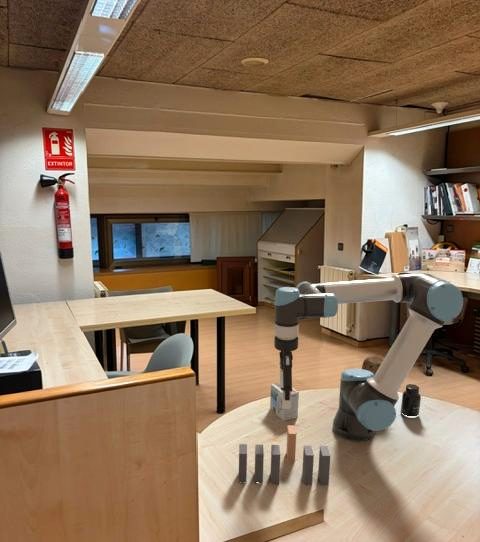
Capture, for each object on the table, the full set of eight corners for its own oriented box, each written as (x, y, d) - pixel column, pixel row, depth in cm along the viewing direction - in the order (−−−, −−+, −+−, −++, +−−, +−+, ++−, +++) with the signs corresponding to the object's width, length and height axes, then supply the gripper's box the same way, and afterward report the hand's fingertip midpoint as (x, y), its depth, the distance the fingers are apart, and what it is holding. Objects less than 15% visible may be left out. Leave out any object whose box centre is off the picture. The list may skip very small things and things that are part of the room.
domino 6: (325, 474, 143) (327, 446, 141) (328, 485, 138) (330, 455, 136) (318, 474, 143) (319, 445, 141) (320, 485, 138) (322, 455, 136)
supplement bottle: (416, 420, 176) (419, 392, 173) (398, 415, 179) (401, 387, 177) (420, 413, 182) (423, 385, 179) (402, 408, 185) (405, 381, 183)
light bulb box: (269, 408, 183) (270, 383, 181) (283, 405, 186) (284, 380, 184) (283, 421, 174) (284, 395, 172) (298, 417, 177) (299, 392, 175)
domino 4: (293, 452, 154) (294, 425, 152) (295, 461, 150) (296, 433, 148) (286, 452, 154) (287, 425, 152) (287, 461, 150) (288, 433, 148)
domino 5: (309, 474, 143) (311, 445, 141) (312, 484, 138) (313, 455, 136) (302, 474, 143) (303, 445, 141) (304, 484, 138) (305, 455, 136)
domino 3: (278, 473, 143) (279, 445, 141) (279, 484, 138) (280, 454, 136) (270, 473, 143) (271, 444, 141) (271, 483, 138) (272, 454, 136)
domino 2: (262, 473, 143) (263, 444, 141) (262, 483, 138) (263, 454, 136) (254, 473, 143) (255, 444, 141) (254, 483, 138) (255, 454, 136)
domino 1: (246, 472, 143) (247, 444, 141) (246, 483, 138) (247, 453, 136) (238, 472, 143) (239, 444, 141) (238, 483, 138) (239, 453, 136)
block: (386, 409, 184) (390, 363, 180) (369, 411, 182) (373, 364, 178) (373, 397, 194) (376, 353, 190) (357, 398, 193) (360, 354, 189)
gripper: (272, 323, 156) (271, 380, 161) (276, 351, 132) (275, 417, 136) (294, 323, 156) (293, 380, 160) (302, 351, 132) (300, 418, 136)
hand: (285, 397), depth 148 cm, fingers open, 13 cm apart
